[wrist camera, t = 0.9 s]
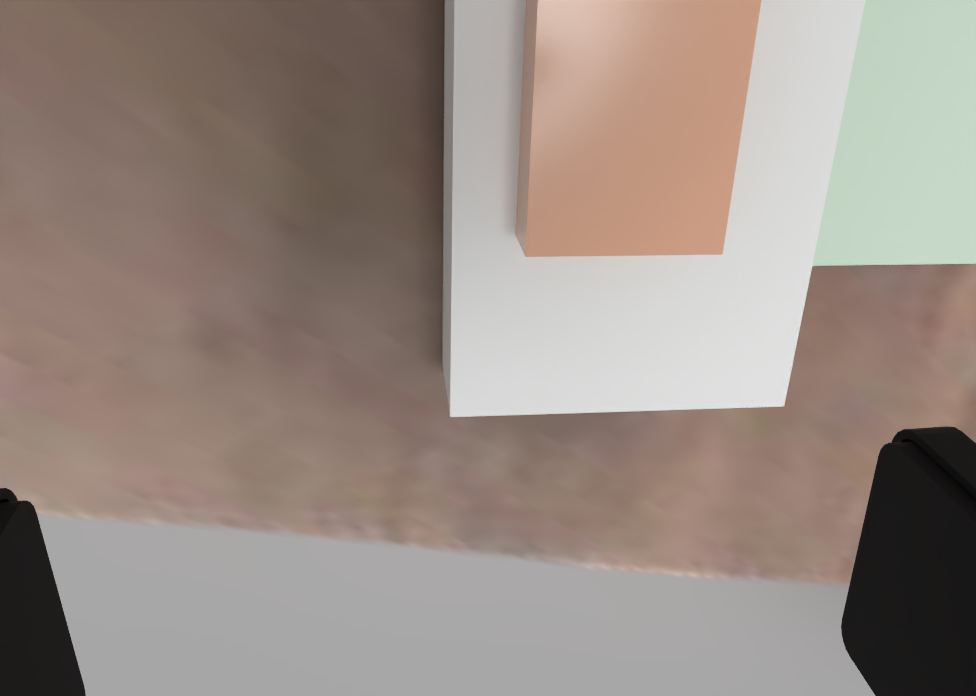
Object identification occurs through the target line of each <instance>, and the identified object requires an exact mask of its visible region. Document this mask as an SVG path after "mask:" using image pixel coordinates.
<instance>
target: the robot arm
mask: <svg viewBox="0 0 976 696" xmlns="http://www.w3.org/2000/svg"><path fill="white" fill-rule="evenodd" d="M841 628H842V637H843V642H844V644H845V647H846V650H847V652H848V654H849V656H850V657H851V659H852V660H853V662H854V663H855V665H856V666H857V668H858V670H859V671H860V672H861V674H862V675H863V677H864V679H865V680H866V682H867V683H868V685H869V686H870V688H871V689H872V691H873V692H874V694H875V695H876V696H976V443H975V442H974V441H972V440H971V439H970V438H969V437H968V436H966V435H965V434H964V433H963V432H962V431H960V430H958V429H957V428H955V427H933V428H918V429H904V430H902V431H900V432H898V433H897V434H896V435H895V437H894V438H893V440H892V443H888V444H885V445H884V446H883V447H882V449H881V450H880V453H879V456H878V461H877V465H876V470H875V474H874V479H873V483H872V488H871V492H870V497H869V501H868V505H867V510H866V514H865V519H864V523H863V528H862V532H861V537H860V541H859V546H858V550H857V555H856V559H855V564H854V568H853V573H852V577H851V582H850V586H849V591H848V596H847V600H846V604H845V609H844V613H843V618H842V625H841ZM0 696H85V689H84V684H83V681H82V677H81V674H80V670H79V666H78V662H77V659H76V656H75V652H74V648H73V644H72V641H71V637H70V633H69V630H68V626H67V622H66V619H65V615H64V612H63V608H62V604H61V601H60V597H59V593H58V590H57V586H56V583H55V579H54V575H53V572H52V568H51V565H50V561H49V557H48V553H47V550H46V546H45V543H44V539H43V535H42V532H41V528H40V524H39V521H38V517H37V514H36V511H35V508H34V506H33V505H32V504H31V502H28V501H18V500H17V498H16V496H15V495H14V493H13V492H12V491H11V490H9V489H6V488H0Z"/></svg>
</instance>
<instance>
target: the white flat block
mask: <svg viewBox="0 0 976 696" xmlns="http://www.w3.org/2000/svg"><path fill="white" fill-rule="evenodd" d="M865 1H866V0H761V6H760V13H759V19H758V26H757V32H756V39H755V46H754V52H753V59H752V65H751V72H750V78H749V85H748V91H747V98H746V104H745V111H744V118H743V124H742V131H741V137H740V144H739V150H738V157H737V163H736V170H735V176H734V183H733V190H732V196H731V203H730V209H729V216H728V222H727V229H726V235H725V242H724V248H723V255H647V256H560V257H525V255H524V253H523V251H522V248H521V246H520V244H519V242H518V239H517V237H516V217H517V194H518V171H519V148H520V125H521V102H522V79H523V56H524V34H525V11H526V0H445V36H444V201H443V372H444V378H445V385H446V392H447V399H448V406H449V413H450V417H468V416H499V415H530V414H561V413H593V412H624V411H655V410H686V409H717V408H748V407H779V406H784V404H785V399H786V394H787V389H788V384H789V379H790V374H791V369H792V364H793V359H794V354H795V349H796V344H797V339H798V334H799V329H800V324H801V319H802V314H803V309H804V304H805V299H806V294H807V290H808V285H809V280H810V275H811V270H812V265H813V260H814V255H815V250H816V245H817V240H818V235H819V230H820V225H821V220H822V215H823V210H824V205H825V200H826V195H827V190H828V185H829V180H830V175H831V170H832V165H833V160H834V155H835V150H836V145H837V140H838V135H839V130H840V125H841V120H842V115H843V110H844V105H845V101H846V96H847V91H848V86H849V81H850V76H851V71H852V66H853V61H854V56H855V51H856V46H857V41H858V36H859V31H860V26H861V21H862V16H863V11H864V6H865Z"/></svg>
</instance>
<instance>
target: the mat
mask: <svg viewBox="0 0 976 696" xmlns="http://www.w3.org/2000/svg"><path fill="white" fill-rule="evenodd" d="M900 264H976V0H866V1H865V6H864V11H863V16H862V21H861V26H860V31H859V36H858V41H857V46H856V51H855V56H854V61H853V66H852V71H851V76H850V81H849V86H848V91H847V96H846V101H845V105H844V110H843V115H842V120H841V125H840V130H839V135H838V140H837V145H836V150H835V155H834V160H833V165H832V170H831V175H830V180H829V185H828V190H827V195H826V200H825V205H824V210H823V215H822V220H821V225H820V230H819V235H818V240H817V245H816V250H815V255H814V260H813V265H812V266H824V265H900Z"/></svg>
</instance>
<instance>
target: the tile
mask: <svg viewBox="0 0 976 696" xmlns="http://www.w3.org/2000/svg"><path fill="white" fill-rule="evenodd" d="M760 6H761V0H526V11H525V34H524V56H523V79H522V102H521V125H520V148H519V171H518V194H517V217H516V237H517V239H518V242H519V244H520V246H521V248H522V251H523V253H524V255H525V257H560V256H647V255H723V248H724V242H725V235H726V229H727V222H728V216H729V209H730V203H731V196H732V190H733V183H734V176H735V170H736V163H737V157H738V150H739V144H740V137H741V131H742V124H743V118H744V111H745V104H746V98H747V91H748V85H749V78H750V72H751V65H752V59H753V52H754V46H755V39H756V32H757V26H758V19H759V13H760Z"/></svg>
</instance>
